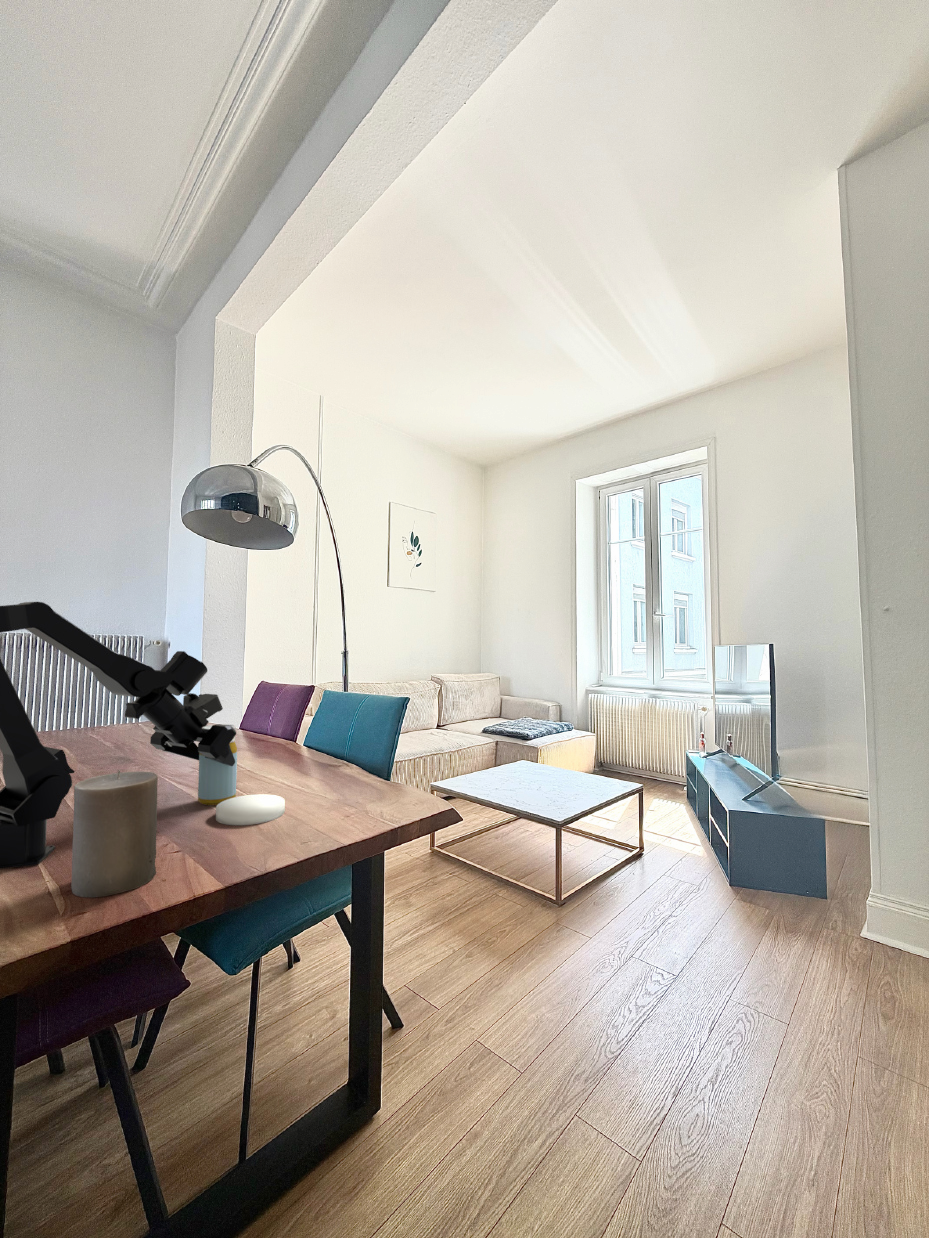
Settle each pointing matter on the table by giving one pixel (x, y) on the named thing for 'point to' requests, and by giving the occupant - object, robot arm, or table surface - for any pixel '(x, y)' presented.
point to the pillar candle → (114, 833)
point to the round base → (250, 809)
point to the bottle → (217, 777)
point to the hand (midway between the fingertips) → (218, 761)
